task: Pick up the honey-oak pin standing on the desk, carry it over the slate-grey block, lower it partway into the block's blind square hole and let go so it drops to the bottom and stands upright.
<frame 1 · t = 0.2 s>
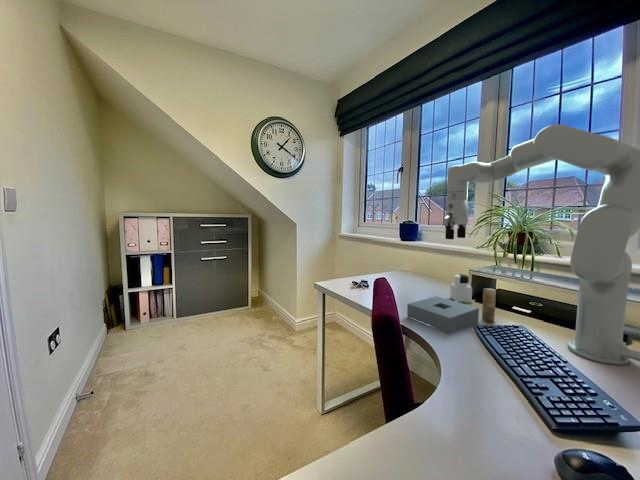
hand: (455, 238, 114), 30 cm above the table, tool pointing down, fingers open, 9 cm apart
medicine bottle: (460, 300, 130), on the table
oak pin: (488, 320, 105), on the table
hole block: (441, 319, 106), on the table
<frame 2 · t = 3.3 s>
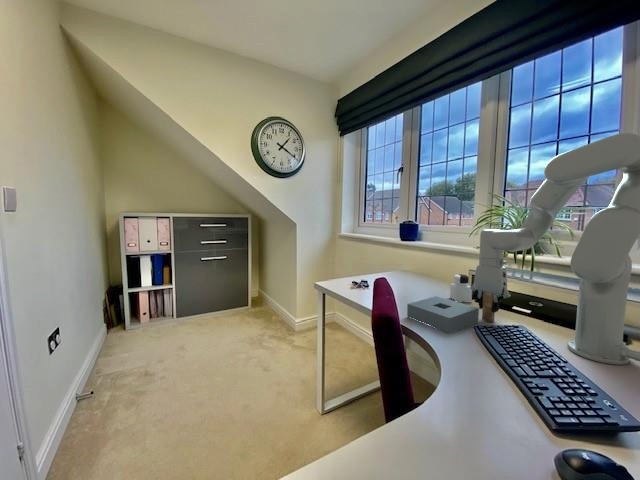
hand: (488, 309, 105), 4 cm above the table, tool pointing down, fingers closed on oak pin, 4 cm apart
oak pin: (488, 320, 105), on the table, touching gripper
everything else where it was.
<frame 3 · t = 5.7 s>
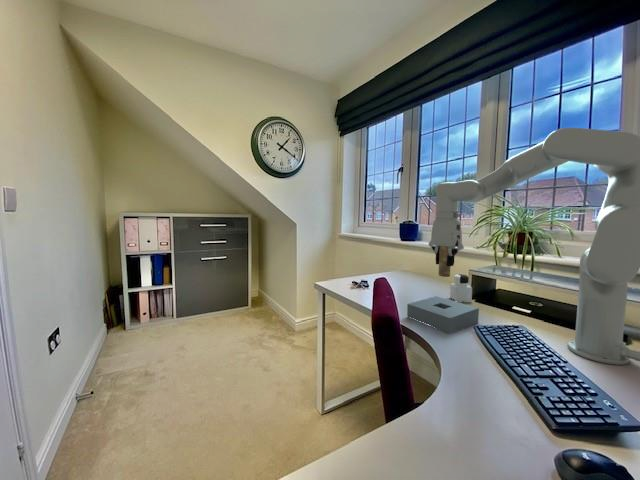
hand: (444, 264, 104), 22 cm above the table, tool pointing down, fingers closed on oak pin, 4 cm apart
oak pin: (444, 275, 105), point 17 cm above the table, touching gripper
everything else where it was.
when the fingers open (7 cm above the table, at t = 8.1 s): oak pin drops 2 cm, resting on hole block.
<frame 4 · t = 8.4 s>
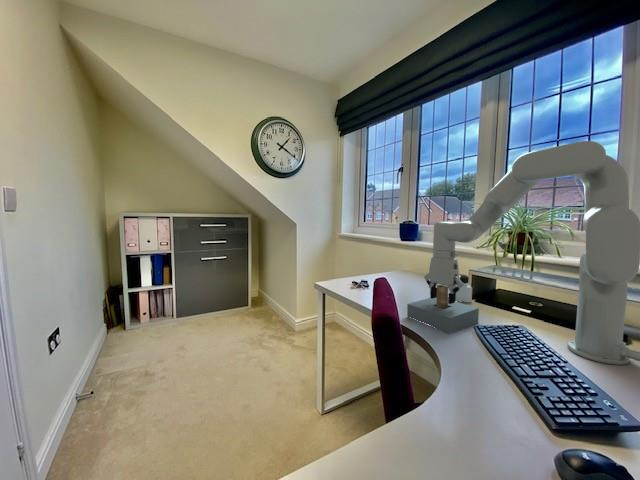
hand: (442, 300, 105), 8 cm above the table, tool pointing down, fingers open, 7 cm apart
oak pin: (441, 316, 106), point 1 cm above the table, touching hole block
everything else where it was.
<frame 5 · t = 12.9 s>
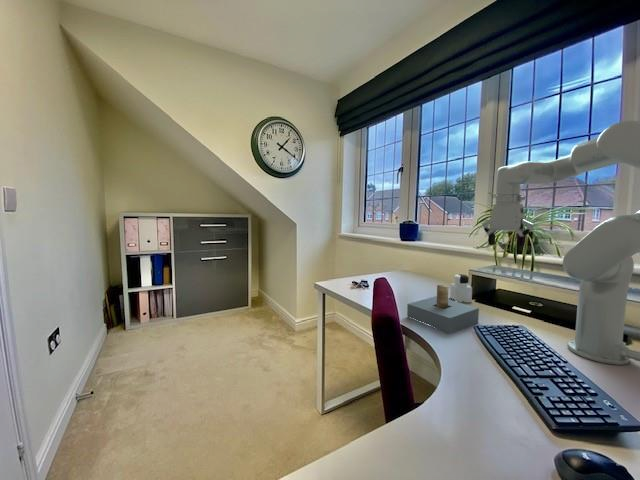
hand: (505, 246, 104), 28 cm above the table, tool pointing down, fingers open, 9 cm apart
nothing on the table moved.
at the end: oak pin 0.1 cm off-centre on the hole block, point 1.2 cm above the hole block's base; oak pin tilted 2°; the gripper is holding nothing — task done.
